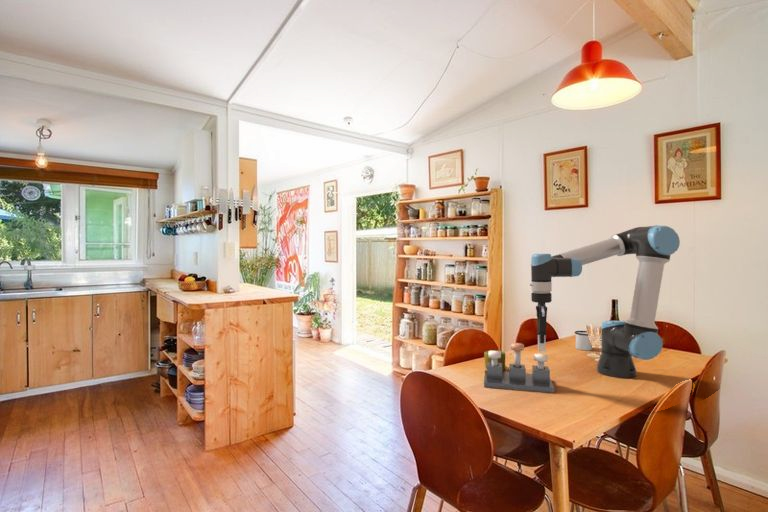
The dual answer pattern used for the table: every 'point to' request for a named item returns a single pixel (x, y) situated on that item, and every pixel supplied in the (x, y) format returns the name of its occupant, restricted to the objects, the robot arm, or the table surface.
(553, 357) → the table surface
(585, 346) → the mug
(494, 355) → the knob far
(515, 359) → the pink capped peg
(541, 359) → the knob near
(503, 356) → the mug
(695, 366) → the table surface
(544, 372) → the mount
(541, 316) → the robot arm
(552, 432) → the table surface
